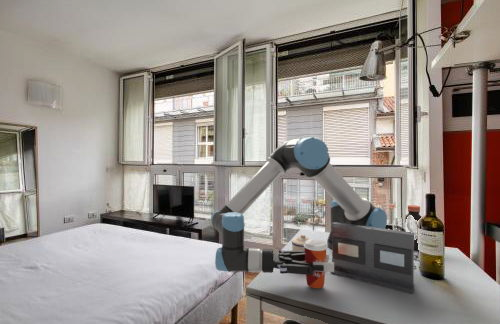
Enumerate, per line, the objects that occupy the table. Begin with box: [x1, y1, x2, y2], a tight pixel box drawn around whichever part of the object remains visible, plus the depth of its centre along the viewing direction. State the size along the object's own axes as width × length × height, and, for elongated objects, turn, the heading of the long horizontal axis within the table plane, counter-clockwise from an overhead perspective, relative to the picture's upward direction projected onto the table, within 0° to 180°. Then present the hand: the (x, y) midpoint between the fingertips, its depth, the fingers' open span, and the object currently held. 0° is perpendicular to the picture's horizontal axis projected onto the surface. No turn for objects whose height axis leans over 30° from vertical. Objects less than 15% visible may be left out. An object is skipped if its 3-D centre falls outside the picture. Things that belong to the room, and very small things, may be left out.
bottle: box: [404, 204, 422, 252], centre depth 119 cm, size 7×7×20 cm
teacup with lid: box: [291, 234, 312, 262], centre depth 104 cm, size 12×9×12 cm
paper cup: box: [304, 239, 328, 289], centre depth 84 cm, size 8×8×14 cm
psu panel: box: [329, 222, 415, 294], centre depth 90 cm, size 8×26×18 cm, turn 56°
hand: (330, 262), depth 84 cm, fingers closed on paper cup, 7 cm apart
